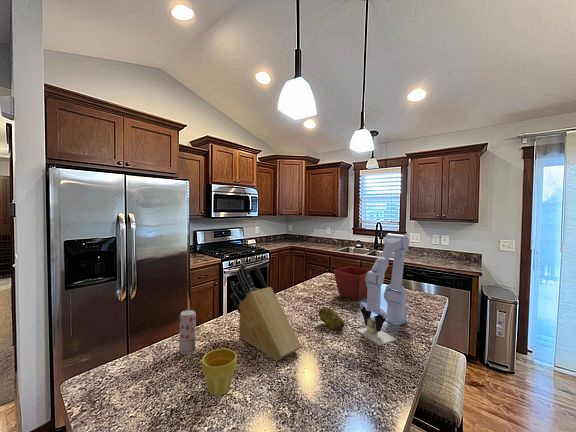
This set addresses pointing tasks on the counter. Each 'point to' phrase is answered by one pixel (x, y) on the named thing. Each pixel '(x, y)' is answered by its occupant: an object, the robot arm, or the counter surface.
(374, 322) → the green-faced wooden block
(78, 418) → the counter surface
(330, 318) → the potato
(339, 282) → the plant pot
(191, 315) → the beverage can
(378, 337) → the mat
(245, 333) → the knife block
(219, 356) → the plant pot
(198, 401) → the counter surface
